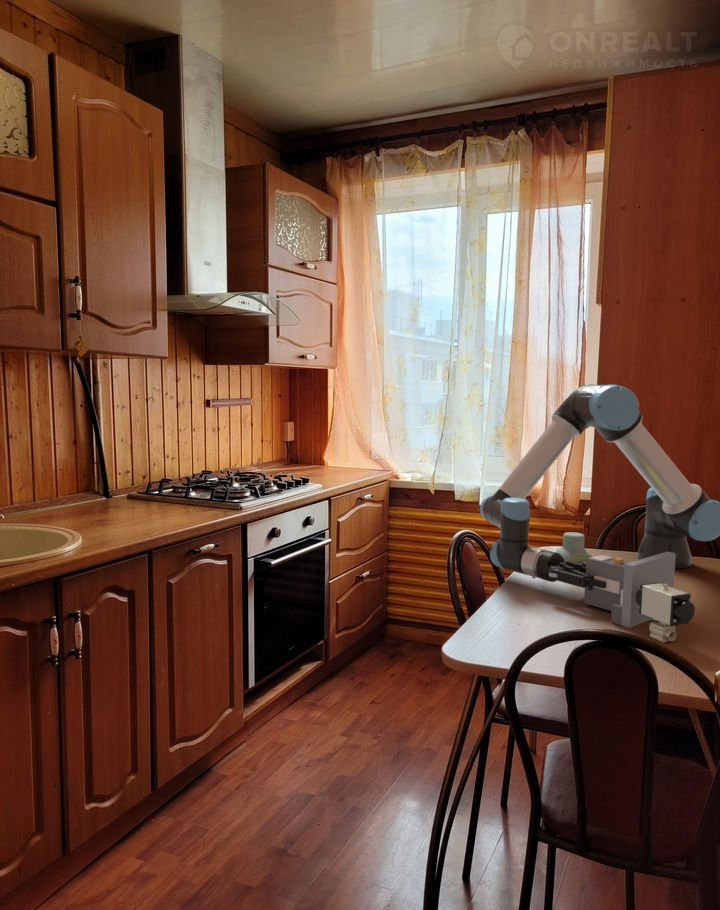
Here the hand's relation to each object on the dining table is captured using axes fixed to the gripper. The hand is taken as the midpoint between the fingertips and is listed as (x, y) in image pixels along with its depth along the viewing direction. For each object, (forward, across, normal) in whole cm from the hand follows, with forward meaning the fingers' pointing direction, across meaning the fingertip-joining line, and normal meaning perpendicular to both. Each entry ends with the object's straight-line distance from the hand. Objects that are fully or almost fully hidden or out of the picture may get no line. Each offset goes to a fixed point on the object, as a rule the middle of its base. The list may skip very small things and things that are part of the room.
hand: (626, 585), depth 162 cm
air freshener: (-32, -26, -7) cm, 41 cm away
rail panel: (+3, -2, -7) cm, 8 cm away
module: (-4, 0, -6) cm, 7 cm away
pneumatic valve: (+14, +8, -7) cm, 17 cm away
